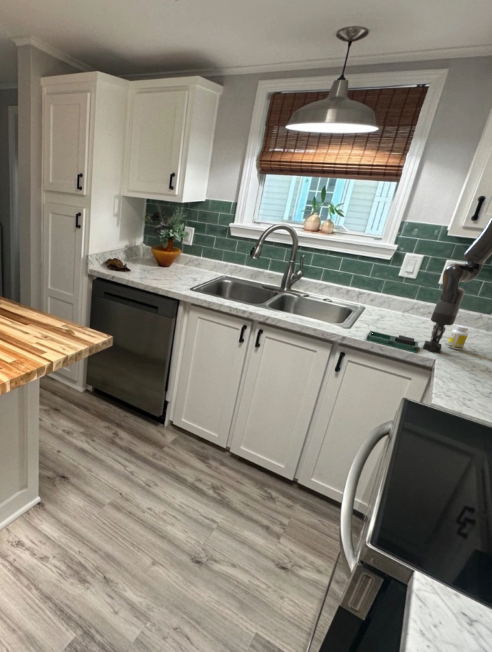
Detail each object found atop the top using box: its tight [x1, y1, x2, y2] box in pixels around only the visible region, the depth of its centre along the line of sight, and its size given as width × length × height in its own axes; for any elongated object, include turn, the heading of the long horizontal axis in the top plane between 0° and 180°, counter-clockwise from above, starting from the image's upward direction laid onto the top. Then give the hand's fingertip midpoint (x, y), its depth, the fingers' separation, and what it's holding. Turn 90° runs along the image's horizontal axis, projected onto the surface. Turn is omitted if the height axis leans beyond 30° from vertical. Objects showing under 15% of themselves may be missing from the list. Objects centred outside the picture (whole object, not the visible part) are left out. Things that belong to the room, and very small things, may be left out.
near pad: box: [397, 334, 415, 346], centre depth 174 cm, size 6×6×3 cm
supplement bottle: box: [446, 324, 469, 351], centre depth 177 cm, size 5×5×10 cm
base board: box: [365, 330, 419, 354], centre depth 177 cm, size 18×12×2 cm, turn 51°
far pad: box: [422, 340, 442, 354], centre depth 173 cm, size 6×6×3 cm
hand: (431, 349), depth 173 cm, fingers closed on far pad, 5 cm apart
